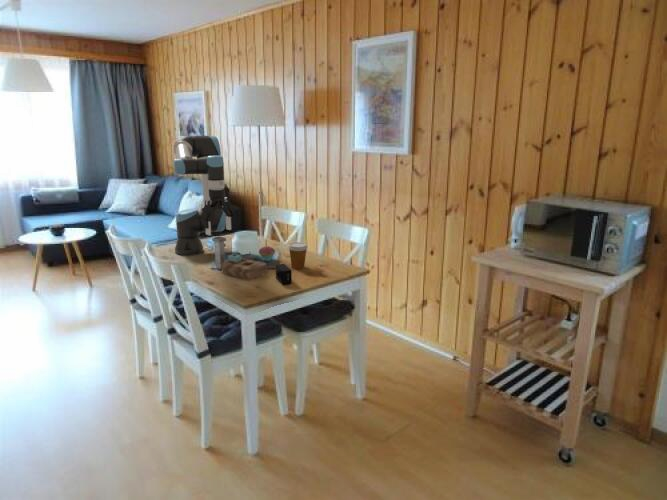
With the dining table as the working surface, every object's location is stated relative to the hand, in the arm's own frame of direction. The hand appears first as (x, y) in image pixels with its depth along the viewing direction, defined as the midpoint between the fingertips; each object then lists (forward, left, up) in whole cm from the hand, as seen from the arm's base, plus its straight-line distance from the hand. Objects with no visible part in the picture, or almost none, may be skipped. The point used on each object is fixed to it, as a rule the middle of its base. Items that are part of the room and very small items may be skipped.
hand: (218, 232), depth 224 cm
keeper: (+9, +1, -13) cm, 16 cm away
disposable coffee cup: (+31, +23, -19) cm, 43 cm away
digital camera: (+37, +2, -19) cm, 41 cm away
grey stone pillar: (0, 0, -19) cm, 19 cm away
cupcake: (+10, +24, -19) cm, 32 cm away
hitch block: (+15, +1, -19) cm, 24 cm away
